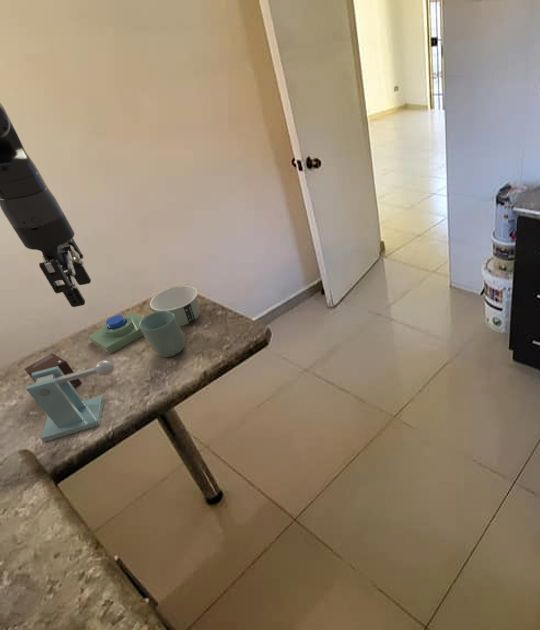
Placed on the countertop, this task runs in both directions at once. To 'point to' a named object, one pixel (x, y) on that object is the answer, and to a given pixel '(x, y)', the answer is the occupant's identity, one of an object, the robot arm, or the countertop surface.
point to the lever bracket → (64, 406)
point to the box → (52, 362)
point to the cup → (163, 333)
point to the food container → (178, 303)
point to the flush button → (116, 322)
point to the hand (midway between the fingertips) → (82, 294)
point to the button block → (117, 334)
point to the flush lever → (82, 373)
